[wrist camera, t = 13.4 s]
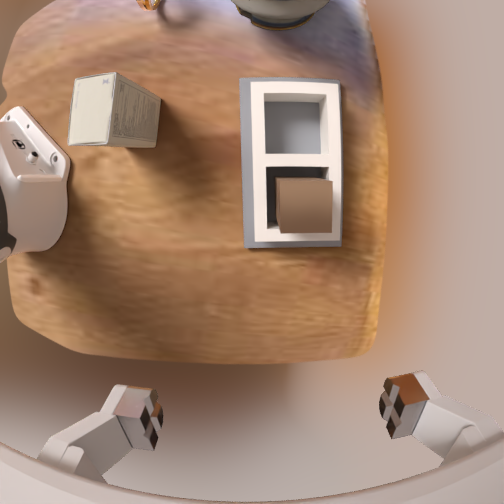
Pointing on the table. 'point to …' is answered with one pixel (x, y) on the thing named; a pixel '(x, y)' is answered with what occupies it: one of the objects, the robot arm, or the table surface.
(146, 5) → the ring
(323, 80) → the slot rack
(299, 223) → the walnut peg
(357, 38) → the table surface
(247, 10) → the apothecary jar
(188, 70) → the table surface
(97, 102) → the skincare box
